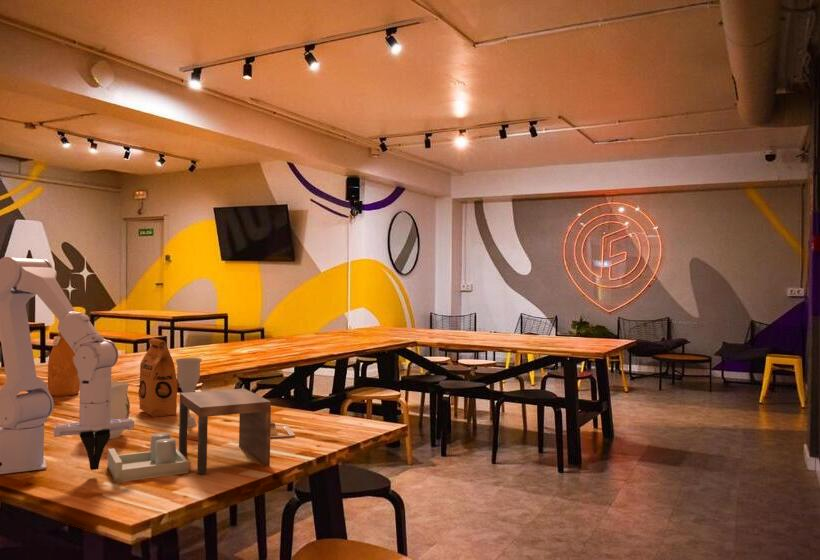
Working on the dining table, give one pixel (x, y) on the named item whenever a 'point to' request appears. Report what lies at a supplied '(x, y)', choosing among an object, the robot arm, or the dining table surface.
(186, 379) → the chalice
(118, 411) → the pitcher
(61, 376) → the wine bottle
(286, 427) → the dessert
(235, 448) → the dining table surface
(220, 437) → the dining table surface
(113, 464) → the tray
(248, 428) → the miniature side table
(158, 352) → the coffee package
